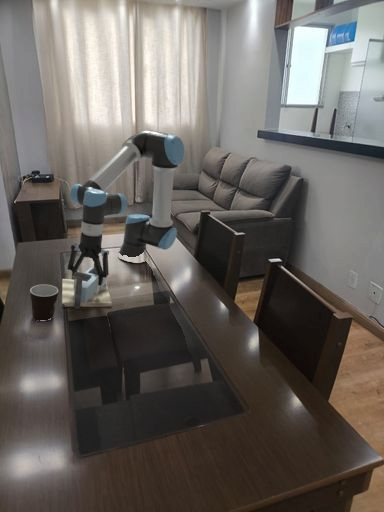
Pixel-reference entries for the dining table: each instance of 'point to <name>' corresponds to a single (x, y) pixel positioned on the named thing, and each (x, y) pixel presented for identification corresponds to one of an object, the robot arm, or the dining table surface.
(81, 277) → the pintle plate
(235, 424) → the dining table surface
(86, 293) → the link
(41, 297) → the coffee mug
